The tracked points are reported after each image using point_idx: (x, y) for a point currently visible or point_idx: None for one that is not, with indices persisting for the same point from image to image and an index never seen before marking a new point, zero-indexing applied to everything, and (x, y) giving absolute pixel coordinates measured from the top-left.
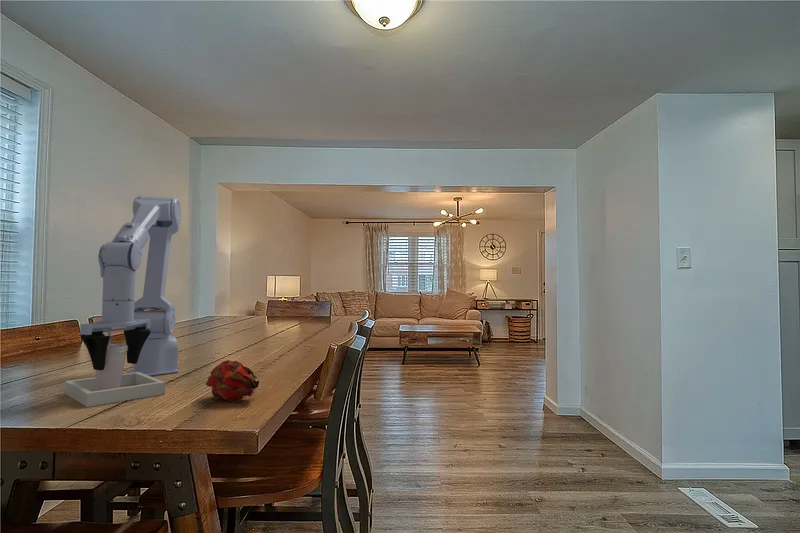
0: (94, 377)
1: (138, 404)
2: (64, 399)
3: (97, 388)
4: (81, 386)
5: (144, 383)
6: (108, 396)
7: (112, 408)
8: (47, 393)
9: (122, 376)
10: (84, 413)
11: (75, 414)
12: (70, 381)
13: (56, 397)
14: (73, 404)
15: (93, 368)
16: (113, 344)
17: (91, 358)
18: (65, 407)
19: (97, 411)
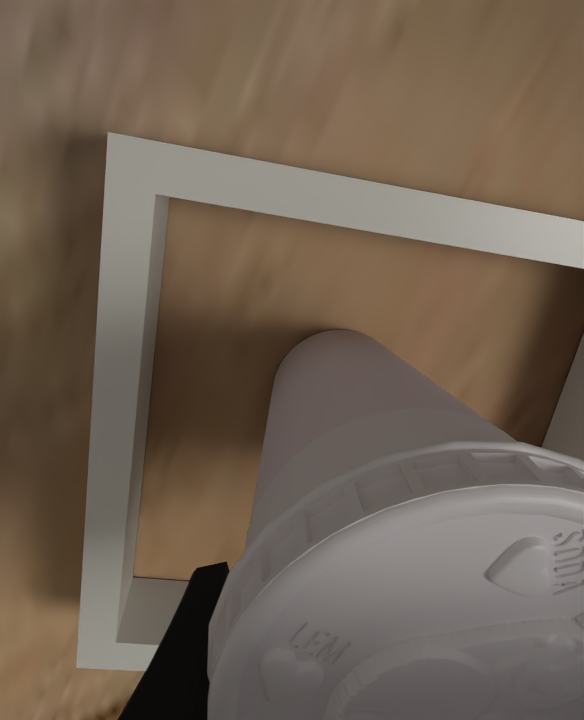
0: (364, 188)
1: None
2: (68, 331)
3: (272, 392)
4: (128, 460)
5: (566, 447)
6: None
7: None
8: (30, 2)
9: (564, 264)
10: (48, 685)
11: (10, 675)
12: (136, 198)
13: (45, 224)
14: (68, 495)
15: (190, 579)
16: (579, 650)
17: (157, 660)
18: (11, 526)
19: (107, 691)
